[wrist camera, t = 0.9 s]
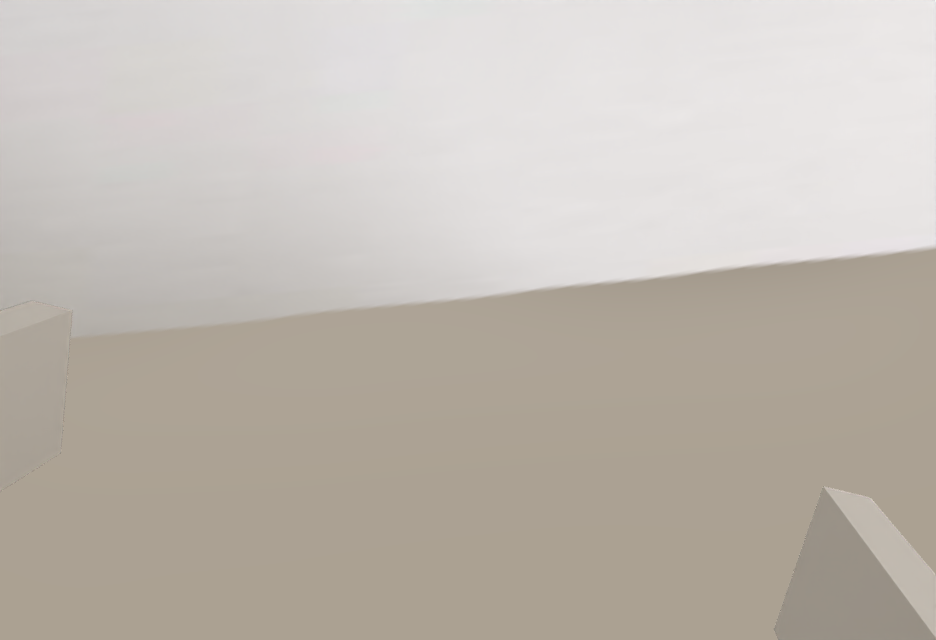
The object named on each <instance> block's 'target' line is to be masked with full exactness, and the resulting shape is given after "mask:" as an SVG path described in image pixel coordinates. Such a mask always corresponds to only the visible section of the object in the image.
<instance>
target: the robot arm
mask: <svg viewBox="0 0 936 640" xmlns="http://www.w3.org/2000/svg"><path fill="white" fill-rule="evenodd" d="M72 311H73V310H69V309H65V308H61V307H56V306H52V305H48V304H44V303H39V302H35V301H29V302H26V303H23V304H19V305H16V306H13V307H10V308H7V309H3V310H0V491H2V490H4V489H5V488H7V487H8V486H10V485H11V484H13V483H14V482H16V481H18V480H19V479H21V478H22V477H24V476H26V475H27V474H29V473H30V472H32V471H34V470H35V469H37V468H38V467H40V466H41V465H43V464H45V463H46V462H48V461H49V460H51V459H52V458H54V457H56V456H57V455H59V454H60V453H61V446H62V433H63V421H64V409H65V397H66V383H67V371H68V360H69V347H70V336H71V323H72ZM774 631H775V633H776V635H777V638H778V640H936V574H935V573H934V572H933V571H932V570H931V569H930V567H929V566H928V565H927V564H926V563H925V562H924V560H923V559H922V558H921V557H920V556H919V554H918V553H917V552H916V551H915V550H914V549H913V547H912V546H911V545H910V544H909V543H908V541H907V540H906V539H905V538H904V537H903V536H902V534H901V533H900V532H899V531H898V530H897V528H896V527H895V526H894V525H893V524H892V523H891V522H890V520H889V519H888V518H887V517H886V515H885V514H884V513H883V512H882V511H881V510H880V508H879V507H878V506H877V505H876V504H875V502H874V501H873V500H872V499H871V498H870V497H867V496H863V495H858V494H854V493H850V492H846V491H841V490H837V489H833V488H829V487H824V486H823V488H822V491H821V494H820V497H819V500H818V503H817V506H816V509H815V512H814V515H813V517H812V520H811V523H810V526H809V529H808V532H807V535H806V538H805V541H804V544H803V547H802V549H801V552H800V555H799V558H798V561H797V564H796V567H795V570H794V573H793V576H792V578H791V582H790V584H789V587H788V590H787V593H786V596H785V599H784V602H783V605H782V608H781V610H780V613H779V616H778V619H777V622H776V625H775V628H774Z"/></svg>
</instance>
